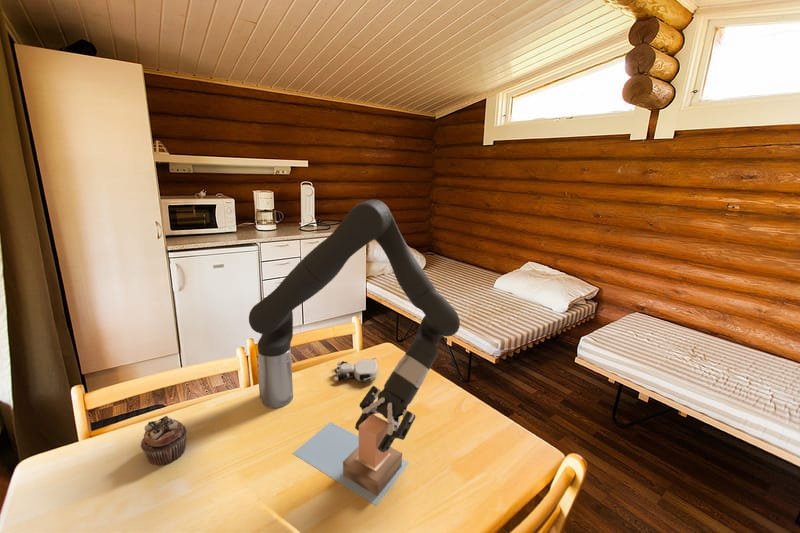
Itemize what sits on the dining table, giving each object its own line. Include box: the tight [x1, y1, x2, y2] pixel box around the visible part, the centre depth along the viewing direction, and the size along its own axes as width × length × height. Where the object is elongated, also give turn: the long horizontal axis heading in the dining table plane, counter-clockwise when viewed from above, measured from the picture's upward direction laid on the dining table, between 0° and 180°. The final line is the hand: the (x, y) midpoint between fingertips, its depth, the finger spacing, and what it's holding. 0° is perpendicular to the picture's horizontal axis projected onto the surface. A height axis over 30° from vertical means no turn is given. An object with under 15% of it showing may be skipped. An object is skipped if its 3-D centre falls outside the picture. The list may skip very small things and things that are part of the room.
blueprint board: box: [292, 421, 410, 506], centre depth 90 cm, size 26×14×1 cm, turn 58°
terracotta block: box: [358, 414, 388, 468], centre depth 85 cm, size 5×5×9 cm
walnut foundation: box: [343, 446, 403, 496], centre depth 86 cm, size 10×10×4 cm
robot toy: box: [333, 357, 379, 382], centre depth 126 cm, size 12×4×15 cm
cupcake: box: [140, 415, 188, 467], centre depth 89 cm, size 10×10×10 cm
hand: (368, 440), depth 83 cm, fingers open, 8 cm apart
